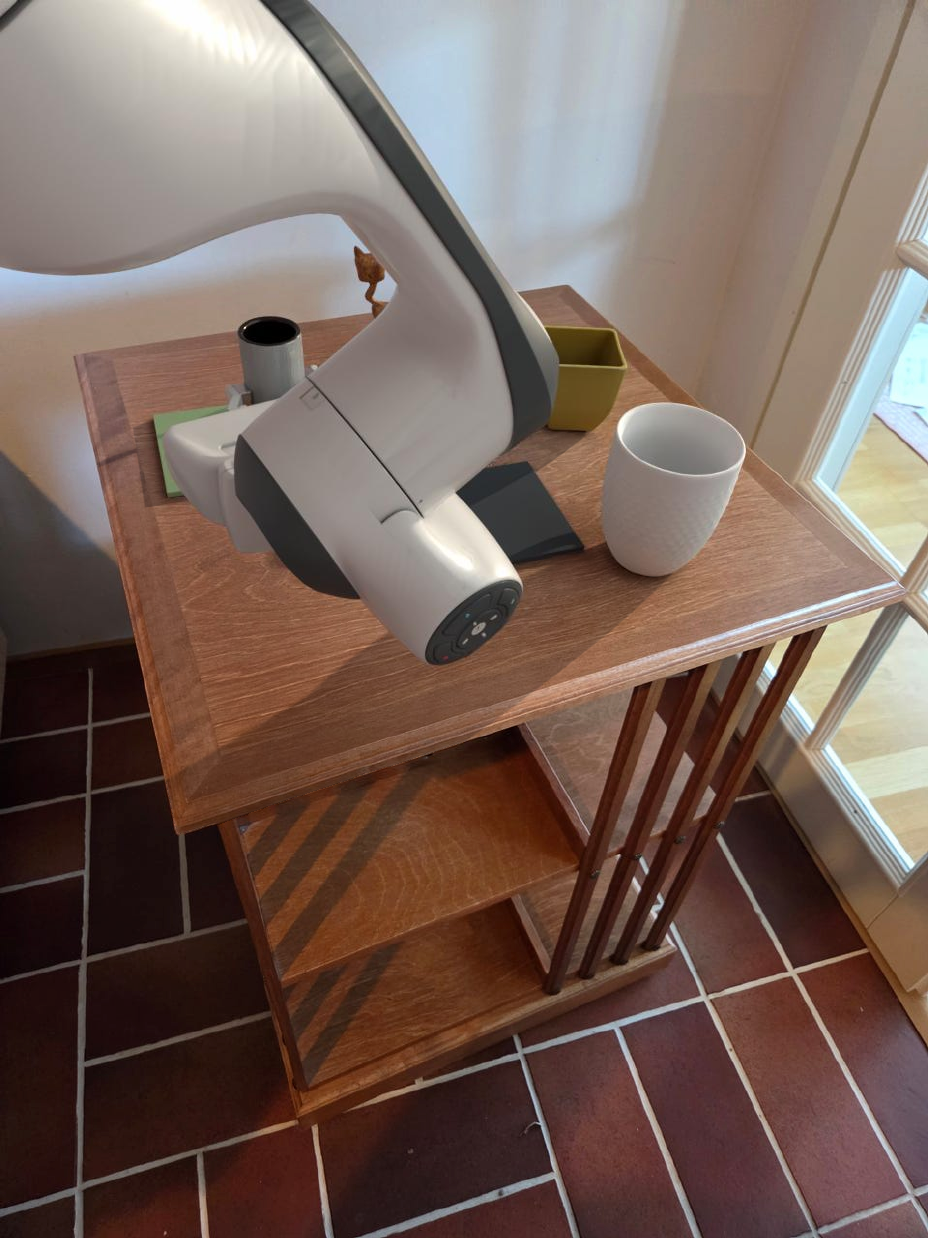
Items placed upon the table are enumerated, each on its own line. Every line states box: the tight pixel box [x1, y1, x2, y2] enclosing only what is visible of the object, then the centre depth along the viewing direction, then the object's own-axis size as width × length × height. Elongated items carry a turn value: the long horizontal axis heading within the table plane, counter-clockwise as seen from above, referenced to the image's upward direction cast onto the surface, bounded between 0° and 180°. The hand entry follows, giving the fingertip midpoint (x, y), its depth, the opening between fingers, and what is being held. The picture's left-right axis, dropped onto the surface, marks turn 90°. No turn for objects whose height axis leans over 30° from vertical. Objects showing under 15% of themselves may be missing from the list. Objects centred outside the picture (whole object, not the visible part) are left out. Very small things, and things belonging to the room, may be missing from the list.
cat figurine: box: [353, 245, 389, 320], centre depth 96 cm, size 18×7×14 cm, turn 104°
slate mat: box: [455, 460, 586, 566], centre depth 81 cm, size 16×14×1 cm
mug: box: [600, 402, 747, 577], centre depth 75 cm, size 15×11×13 cm
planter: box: [236, 315, 305, 405], centre depth 64 cm, size 4×4×10 cm
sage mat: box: [152, 404, 228, 499], centre depth 86 cm, size 16×14×1 cm
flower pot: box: [543, 325, 628, 432], centre depth 91 cm, size 9×9×9 cm
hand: (270, 383), depth 64 cm, fingers closed on planter, 4 cm apart
